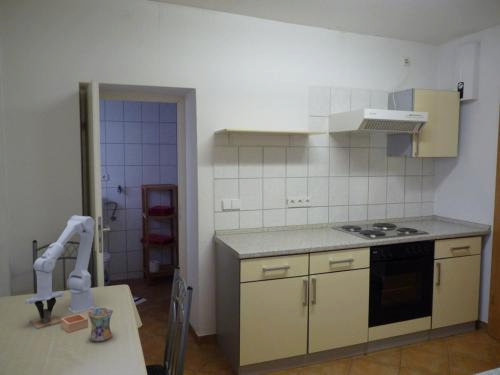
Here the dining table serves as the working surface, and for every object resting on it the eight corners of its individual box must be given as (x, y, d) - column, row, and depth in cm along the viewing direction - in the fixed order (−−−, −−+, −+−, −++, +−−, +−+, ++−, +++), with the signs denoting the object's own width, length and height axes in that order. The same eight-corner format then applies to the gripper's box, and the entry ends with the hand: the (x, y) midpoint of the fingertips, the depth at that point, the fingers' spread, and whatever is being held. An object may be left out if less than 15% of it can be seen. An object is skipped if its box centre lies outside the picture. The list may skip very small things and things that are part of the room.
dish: (80, 322, 173) (79, 313, 172) (88, 328, 167) (87, 318, 167) (60, 327, 167) (60, 318, 167) (68, 334, 161) (68, 324, 161)
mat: (54, 316, 179) (54, 315, 179) (63, 323, 171) (63, 322, 171) (27, 323, 171) (27, 322, 171) (36, 331, 163) (36, 330, 163)
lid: (53, 315, 178) (53, 304, 178) (62, 322, 171) (61, 310, 171) (29, 322, 171) (28, 310, 171) (37, 329, 164) (36, 317, 164)
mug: (115, 339, 157) (115, 313, 156) (90, 345, 152) (90, 318, 151) (108, 328, 167) (108, 303, 166) (84, 333, 162) (84, 308, 161)
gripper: (29, 291, 162) (30, 324, 163) (65, 284, 172) (66, 314, 173) (23, 287, 167) (24, 319, 168) (59, 280, 177) (60, 310, 178)
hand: (45, 316), depth 171 cm, fingers closed on lid, 2 cm apart
